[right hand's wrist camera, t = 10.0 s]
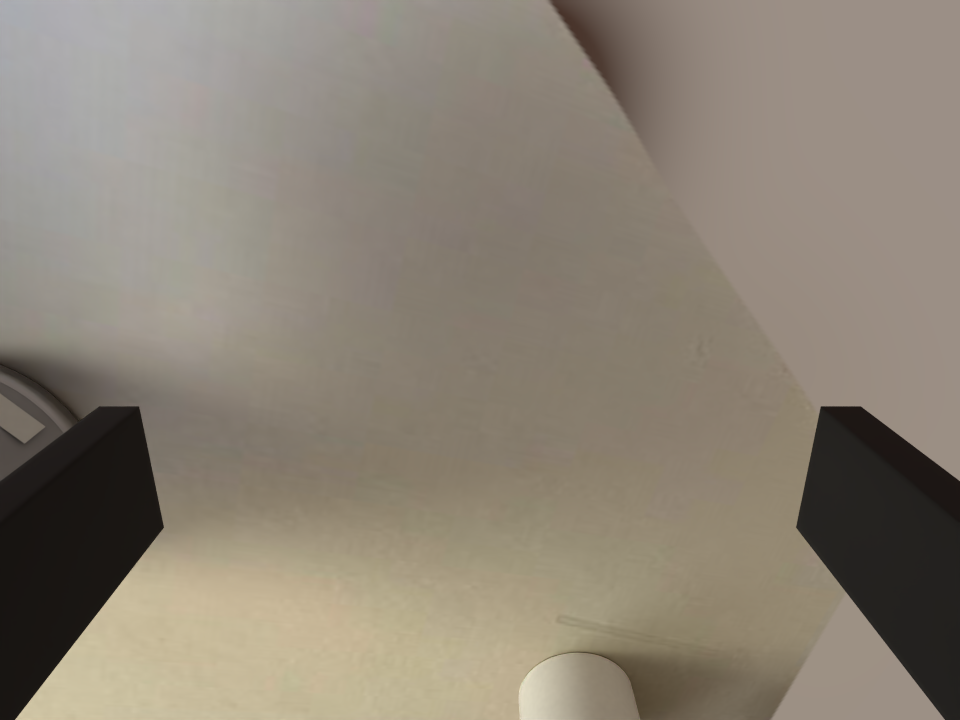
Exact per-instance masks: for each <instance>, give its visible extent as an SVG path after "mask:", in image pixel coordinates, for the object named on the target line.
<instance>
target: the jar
mask: <svg viewBox="0 0 960 720" xmlns="http://www.w3.org/2000/svg"><path fill="white" fill-rule="evenodd" d="M519 713H520V720H640V717H639V713H638V709H637V705H636V701H635V697H634V693H633V689H632V686H631V682H630V680H629V678H628V676H627V675H626V673H625V672H624V671H623V670H622V669H621V668H620V667H619V666H618V665H617V664H615V663H614V662H612V661H611V660H609V659H606V658H604V657H602V656H598V655H595V654H590V653H566V654H561V655H557V656H554V657H551V658H549V659H547V660H545V661H543V662H541V663H539V664H538V665H537V666H535V667H534V668H533V669H532V670H531V671H530V672H529V673H528V674H527V676H526V677H525V678H524V680H523V682H522V684H521V687H520V691H519Z"/></svg>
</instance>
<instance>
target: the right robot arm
mask: <svg viewBox="0 0 960 720" xmlns="http://www.w3.org/2000/svg"><path fill="white" fill-rule="evenodd" d="M163 528H164V526H163V521H162V516H161V511H160V506H159V502H158V497H157V492H156V487H155V482H154V477H153V472H152V467H151V462H150V457H149V453H148V448H147V443H146V438H145V433H144V428H143V423H142V418H141V413H140V409H139V407H98V408H97V409H95V410H94V411H93V412H91V413H90V414H89V415H87V416H86V417H85V418H83V419H82V420H81V421H79V422H78V421H77V420H76V419H75V417H74V416H73V415H72V414H71V413H70V412H69V410H68V409H67V408H66V407H65V406H64V405H63V404H62V403H61V402H60V401H59V400H58V399H56V398H55V397H54V396H53V395H52V394H51V393H49V392H48V391H47V390H45V389H44V388H43V387H41V386H40V385H39V384H37V383H35V382H34V381H32V380H30V379H29V378H27V377H25V376H23V375H22V374H20V373H18V372H16V371H14V370H11V369H9V368H7V367H4V366H2V365H0V720H15V719H16V718H17V716H18V715H19V714H20V713H21V711H22V710H23V709H24V707H25V706H26V705H27V704H28V702H29V701H30V700H31V698H32V697H33V696H34V694H35V693H36V692H37V691H38V689H39V688H40V687H41V685H42V684H43V683H44V682H45V680H46V679H47V678H48V676H49V675H50V674H51V673H52V671H53V670H54V669H55V667H56V666H57V665H58V663H59V662H60V661H61V660H62V658H63V657H64V656H65V654H66V653H67V652H68V651H69V649H70V648H71V647H72V645H73V644H74V643H75V642H76V640H77V639H78V638H79V636H80V635H81V634H82V633H83V631H84V630H85V629H86V627H87V626H88V625H89V623H90V622H91V621H92V620H93V618H94V617H95V616H96V614H97V613H98V612H99V611H100V609H101V608H102V607H103V605H104V604H105V603H106V602H107V600H108V599H109V598H110V596H111V595H112V594H113V592H114V591H115V590H116V589H117V587H118V586H119V585H120V583H121V582H122V581H123V580H124V578H125V577H126V576H127V574H128V573H129V572H130V571H131V569H132V568H133V567H134V565H135V564H136V563H137V562H138V560H139V559H140V558H141V556H142V555H143V554H144V552H145V551H146V550H147V549H148V547H149V546H150V545H151V543H152V542H153V541H154V540H155V538H156V537H157V536H158V534H159V533H160V532H161V531H162V529H163ZM796 528H797V529H798V531H799V532H800V533H801V534H802V536H803V537H804V538H805V540H806V541H807V542H808V543H809V545H810V546H811V547H812V549H813V550H814V551H815V552H816V554H817V555H818V556H819V558H820V559H821V560H822V562H823V563H824V564H825V565H826V567H827V568H828V569H829V571H830V572H831V573H832V574H833V576H834V577H835V578H836V580H837V581H838V582H839V583H840V585H841V586H842V587H843V589H844V590H845V591H846V592H847V594H848V595H849V596H850V598H851V599H852V600H853V602H854V603H855V604H856V605H857V607H858V608H859V609H860V611H861V612H862V613H863V614H864V616H865V617H866V618H867V620H868V621H869V622H870V623H871V625H872V626H873V627H874V629H875V630H876V631H877V632H878V634H879V635H880V636H881V638H882V639H883V640H884V642H885V643H886V644H887V645H888V647H889V648H890V649H891V651H892V652H893V653H894V654H895V656H896V657H897V658H898V660H899V661H900V662H901V663H902V665H903V666H904V667H905V669H906V670H907V671H908V673H909V674H910V675H911V676H912V678H913V679H914V680H915V682H916V683H917V684H918V685H919V687H920V688H921V689H922V691H923V692H924V693H925V694H926V696H927V697H928V698H929V700H930V701H931V702H932V703H933V705H934V706H935V707H936V709H937V710H938V711H939V712H940V714H941V715H942V716H943V718H944V719H945V720H960V481H959V480H957V479H956V478H955V477H953V476H952V475H951V474H949V473H948V472H947V471H946V470H944V469H943V468H941V467H940V466H939V465H938V464H936V463H935V462H934V461H932V460H931V459H930V458H928V457H927V456H926V455H924V454H923V453H922V452H920V451H919V450H918V449H916V448H915V447H914V446H912V445H911V444H910V443H908V442H907V441H906V440H904V439H903V438H902V437H900V436H899V435H898V434H896V433H895V432H894V431H892V430H891V429H890V428H889V427H887V426H886V425H885V424H883V423H882V422H881V421H879V420H878V419H877V418H875V417H874V416H873V415H871V414H870V413H869V412H867V411H866V410H865V409H863V408H862V407H821V409H820V413H819V418H818V423H817V428H816V433H815V438H814V443H813V448H812V453H811V457H810V462H809V467H808V472H807V477H806V482H805V487H804V492H803V497H802V502H801V506H800V511H799V516H798V521H797V526H796Z"/></svg>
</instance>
